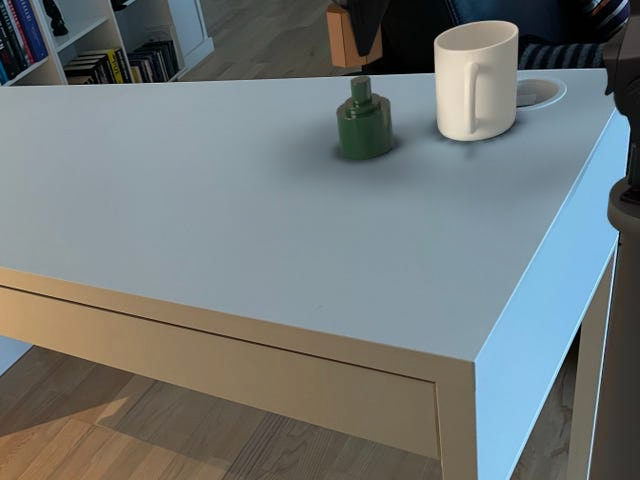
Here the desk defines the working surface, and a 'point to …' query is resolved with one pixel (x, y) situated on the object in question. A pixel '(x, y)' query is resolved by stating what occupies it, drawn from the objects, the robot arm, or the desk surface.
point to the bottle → (364, 122)
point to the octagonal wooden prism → (347, 40)
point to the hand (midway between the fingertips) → (357, 47)
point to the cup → (476, 79)
